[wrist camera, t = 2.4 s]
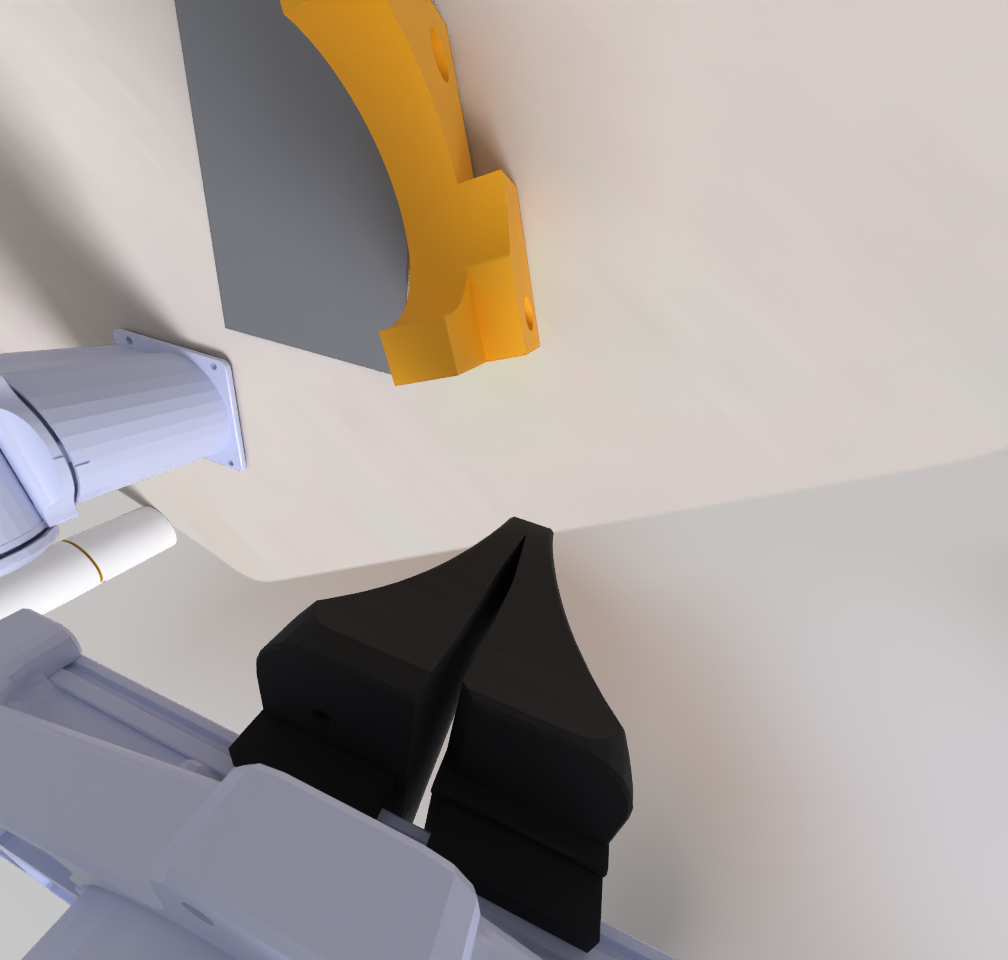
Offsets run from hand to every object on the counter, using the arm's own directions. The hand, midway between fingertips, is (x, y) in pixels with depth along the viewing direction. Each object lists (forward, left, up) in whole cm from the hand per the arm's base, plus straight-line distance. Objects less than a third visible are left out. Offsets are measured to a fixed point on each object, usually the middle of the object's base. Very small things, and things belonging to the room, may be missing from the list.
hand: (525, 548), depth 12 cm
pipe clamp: (-7, +9, -9) cm, 15 cm away
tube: (-34, -19, -10) cm, 40 cm away
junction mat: (-16, +9, -9) cm, 21 cm away
